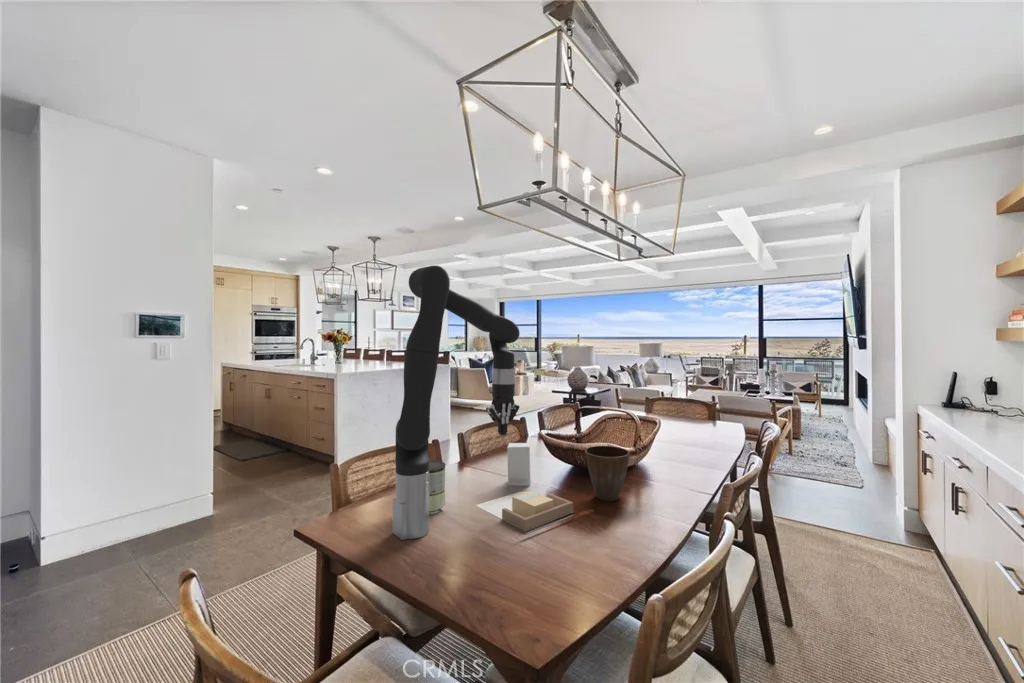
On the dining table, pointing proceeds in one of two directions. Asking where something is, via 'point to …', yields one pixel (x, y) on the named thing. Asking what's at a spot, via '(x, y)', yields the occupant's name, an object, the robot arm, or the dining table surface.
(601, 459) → the plant pot
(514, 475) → the skincare box
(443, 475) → the coffee can
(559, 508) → the tan flat tray
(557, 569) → the dining table surface
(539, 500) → the carton
